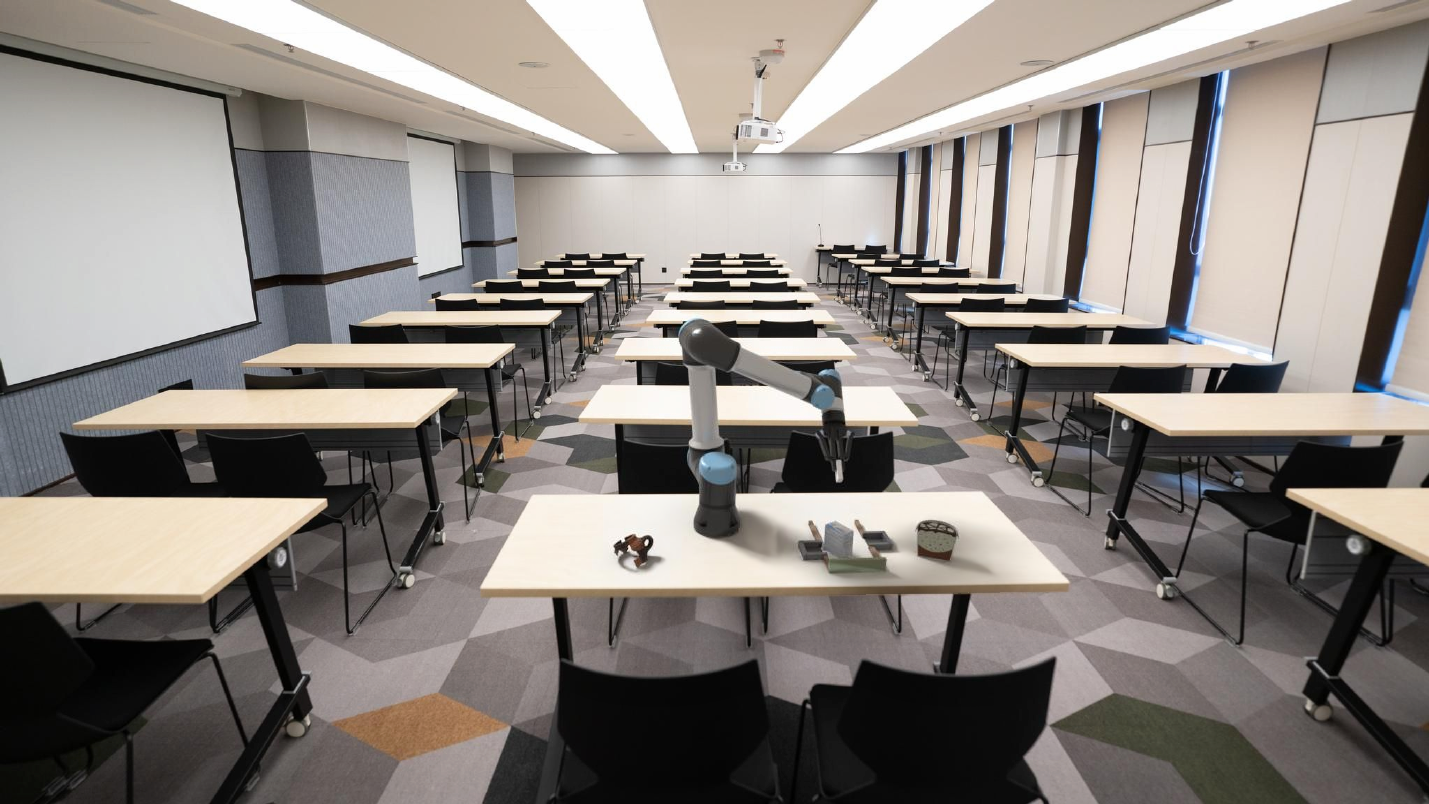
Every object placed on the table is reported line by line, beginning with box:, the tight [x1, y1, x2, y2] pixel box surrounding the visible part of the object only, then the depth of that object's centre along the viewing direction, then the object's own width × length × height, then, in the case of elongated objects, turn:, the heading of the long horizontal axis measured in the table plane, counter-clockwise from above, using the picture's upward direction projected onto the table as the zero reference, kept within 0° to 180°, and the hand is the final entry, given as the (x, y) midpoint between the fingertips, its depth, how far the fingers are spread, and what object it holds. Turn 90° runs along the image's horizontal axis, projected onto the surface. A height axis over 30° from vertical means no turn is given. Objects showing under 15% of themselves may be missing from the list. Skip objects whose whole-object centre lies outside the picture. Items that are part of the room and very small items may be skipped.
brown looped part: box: [612, 533, 655, 568], centre depth 199 cm, size 12×10×8 cm
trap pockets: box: [797, 530, 894, 561], centre depth 206 cm, size 13×28×2 cm, turn 94°
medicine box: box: [823, 520, 855, 558], centre depth 202 cm, size 8×4×9 cm, turn 35°
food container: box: [914, 519, 960, 563], centre depth 202 cm, size 12×6×10 cm, turn 71°
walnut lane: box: [808, 519, 888, 574], centre depth 207 cm, size 29×16×4 cm, turn 4°
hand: (839, 480), depth 213 cm, fingers closed
